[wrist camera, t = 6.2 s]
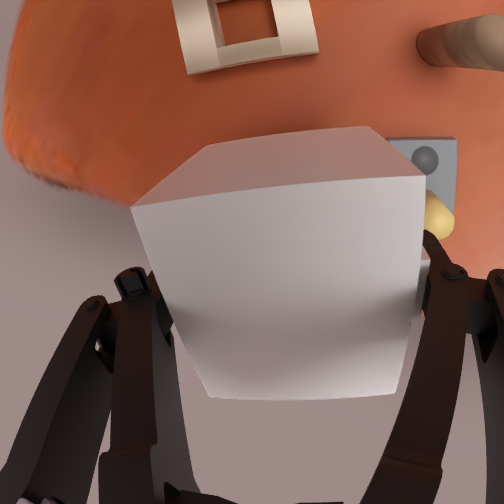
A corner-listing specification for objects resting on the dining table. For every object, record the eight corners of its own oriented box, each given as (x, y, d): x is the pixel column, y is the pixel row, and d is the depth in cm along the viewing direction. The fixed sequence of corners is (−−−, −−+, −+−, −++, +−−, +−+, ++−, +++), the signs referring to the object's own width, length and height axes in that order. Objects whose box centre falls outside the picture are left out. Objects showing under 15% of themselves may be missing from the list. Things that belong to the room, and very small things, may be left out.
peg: (413, 27, 17) (474, 8, 9) (449, 30, 16) (520, 20, 8) (419, 65, 18) (483, 68, 10) (454, 67, 18) (527, 76, 9)
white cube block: (207, 145, 15) (129, 207, 9) (368, 125, 14) (425, 175, 7) (241, 289, 20) (209, 397, 13) (372, 280, 18) (395, 393, 11)
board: (386, 138, 22) (403, 154, 18) (452, 137, 21) (480, 153, 17) (388, 217, 26) (402, 248, 22) (448, 213, 24) (470, 242, 20)
